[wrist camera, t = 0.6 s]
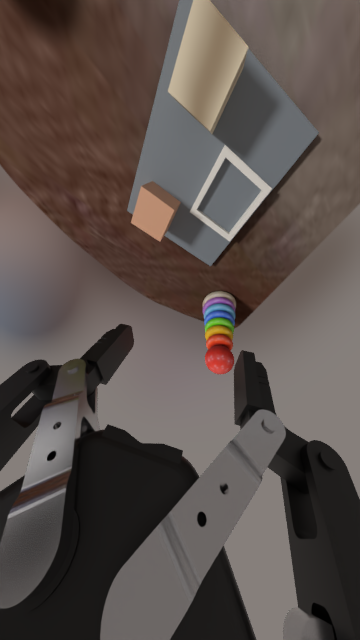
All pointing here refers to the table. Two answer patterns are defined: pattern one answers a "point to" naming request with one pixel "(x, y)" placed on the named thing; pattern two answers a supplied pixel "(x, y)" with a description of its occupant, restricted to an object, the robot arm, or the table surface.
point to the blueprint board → (219, 153)
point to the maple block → (207, 64)
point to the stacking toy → (219, 331)
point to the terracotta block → (154, 210)
